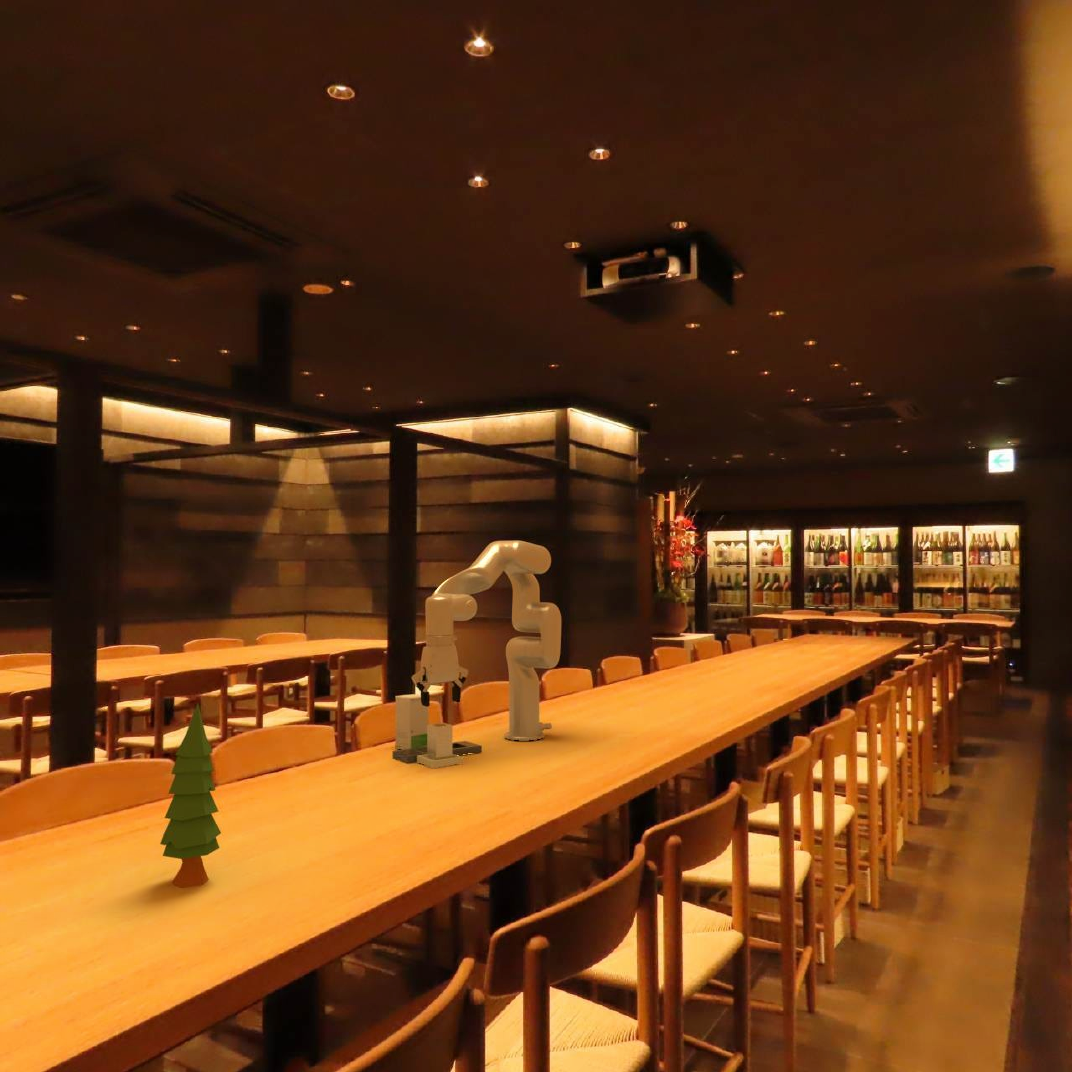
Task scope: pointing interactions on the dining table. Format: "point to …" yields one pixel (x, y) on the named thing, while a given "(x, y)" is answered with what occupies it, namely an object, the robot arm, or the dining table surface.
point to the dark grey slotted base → (412, 753)
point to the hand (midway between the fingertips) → (441, 703)
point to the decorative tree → (192, 807)
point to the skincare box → (411, 722)
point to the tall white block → (439, 741)
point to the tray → (439, 761)
